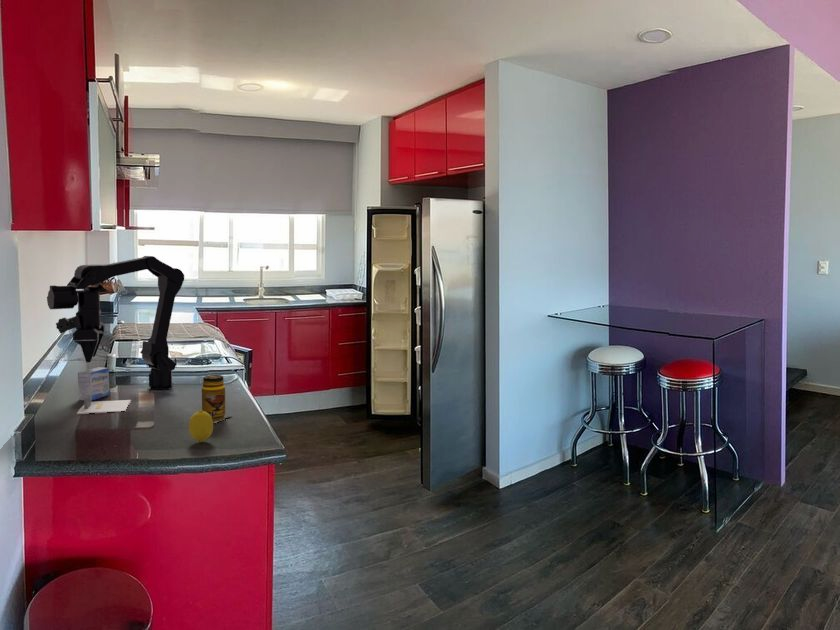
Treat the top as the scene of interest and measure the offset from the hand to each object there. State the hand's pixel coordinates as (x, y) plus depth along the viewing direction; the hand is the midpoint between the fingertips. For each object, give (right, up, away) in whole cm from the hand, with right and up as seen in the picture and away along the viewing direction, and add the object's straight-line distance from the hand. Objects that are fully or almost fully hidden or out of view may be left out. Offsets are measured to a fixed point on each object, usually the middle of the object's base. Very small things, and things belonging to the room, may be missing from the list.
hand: (90, 359), depth 180 cm
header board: (+9, -13, -8) cm, 18 cm away
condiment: (+41, -15, -15) cm, 47 cm away
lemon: (+46, -18, -35) cm, 60 cm away
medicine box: (0, -12, +2) cm, 12 cm away
